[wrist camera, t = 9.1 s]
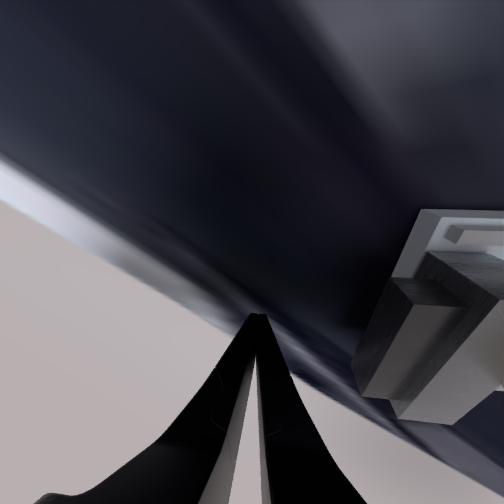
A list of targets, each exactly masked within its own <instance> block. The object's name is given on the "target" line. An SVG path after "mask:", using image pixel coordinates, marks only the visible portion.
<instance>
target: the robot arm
mask: <svg viewBox="0 0 504 504" xmlns="http://www.w3.org/2000/svg"><path fill="white" fill-rule="evenodd" d="M255 358H256V371H257V372H256V374H257V395H258V396H257V397H258V420H259V444H260V466H261V490H262V504H367V503H366V502H365V501H364V499H363V498H362V497H361V495H360V494H359V493H358V492H357V490H356V489H355V488H354V487H353V485H352V484H351V483H350V481H349V480H348V479H347V478H346V477H345V475H344V474H343V473H342V471H341V470H340V469H339V467H338V466H337V464H336V463H335V461H334V459H333V458H332V456H331V454H330V453H329V451H328V449H327V447H326V446H325V444H324V442H323V440H322V438H321V436H320V434H319V432H318V431H317V429H316V427H315V425H314V423H313V421H312V419H311V417H310V416H309V414H308V412H307V410H306V408H305V406H304V404H303V402H302V400H301V398H300V396H299V394H298V391H297V389H296V387H295V384H294V382H293V379H292V377H291V376H290V372H289V370H288V367H287V365H286V362H285V360H284V357H283V355H282V352H281V350H280V348H279V345H278V343H277V340H276V338H275V335H274V333H273V330H272V328H271V325H270V323H269V320H268V318H267V315H266V314H257V313H250V314H249V316H248V317H247V319H246V321H245V322H244V324H243V325H242V327H241V328H240V330H239V331H238V333H237V334H236V336H235V337H234V339H233V340H232V342H231V343H230V345H229V346H228V348H227V349H226V351H225V353H224V354H223V356H222V357H221V359H220V360H219V362H218V363H217V365H216V366H215V368H214V369H213V371H212V372H211V374H210V375H209V377H208V378H207V380H206V381H205V382H204V384H203V385H202V387H201V388H200V389H199V390H198V392H197V393H196V394H195V396H194V397H193V398H192V399H191V401H190V402H189V403H188V404H187V405H186V407H185V408H184V409H183V410H182V412H181V413H180V414H179V415H178V417H177V418H176V419H175V420H174V421H173V423H172V424H171V425H170V426H169V427H168V429H167V430H166V431H165V432H164V433H163V434H162V435H161V436H160V437H159V438H158V439H157V440H156V441H155V442H154V443H152V444H151V445H150V446H149V447H147V448H146V449H145V450H143V451H142V452H141V453H139V454H138V455H137V456H135V457H134V458H133V459H132V460H130V461H129V462H127V463H126V464H125V465H124V466H122V467H121V468H120V469H118V470H117V471H116V472H114V473H113V474H112V475H110V476H109V477H108V478H106V479H105V480H104V481H102V482H101V483H100V484H98V485H97V486H95V487H94V488H92V489H90V490H88V491H86V492H85V493H82V494H79V495H74V496H69V495H64V494H57V493H47V494H45V495H43V496H42V497H41V498H40V499H39V500H37V501H36V502H35V503H34V504H228V502H229V497H230V492H231V486H232V481H233V474H234V470H235V465H236V459H237V454H238V449H239V443H240V438H241V433H242V428H243V422H244V417H245V412H246V406H247V401H248V396H249V390H250V385H251V380H252V374H253V369H254V363H255Z"/></svg>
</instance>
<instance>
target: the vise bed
mask: <svg viewBox="0 0 504 504" xmlns="http://www.w3.org/2000/svg"><path fill="white" fill-rule="evenodd" d="M427 251H430V252H454V253H477V254H492V255H494V256H496V257H498V258H500V259H502V260H504V211H489V210H447V209H421V210H420V213H419V215H418V217H417V219H416V222H415V224H414V226H413V228H412V231H411V233H410V235H409V237H408V240H407V242H406V244H405V246H404V249H403V251H402V253H401V255H400V258H399V260H398V262H397V264H396V267H395V269H394V271H393V273H392V276H391V277H401V278H414V276H415V274H416V272H417V270H418V268H419V267H420V265H421V263H422V261H423V259H424V257H425V255H426V253H427ZM495 390H498V391H504V388H503V387H502V386H501V385H500V386H499V387H498V388H497V389H495Z"/></svg>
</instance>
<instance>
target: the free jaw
mask: <svg viewBox="0 0 504 504" xmlns="http://www.w3.org/2000/svg"><path fill="white" fill-rule="evenodd" d="M351 368H352V370H353V373H354V376H355V379H356V382H357V384H358V387H359V390H360V393H361V395H362V396H364V397H373V398H382V399H389V400H390V402H391V404H392V406H393V408H394V410H395V413H396V415H397V417H398V419H406V420H415V421H424V422H432V423H441V424H449V425H453V424H454V423H455V422H456V421H457V420H459V419H460V418H461V417H462V416H464V415H465V414H466V413H467V412H468V411H470V410H471V409H472V408H473V407H475V406H476V405H477V404H478V403H479V402H481V401H482V400H483V399H484V398H486V397H487V396H488V395H489V394H491V393H492V392H493V391H494V390H495V389H497V388H498V387H499V386H500V385H502V384H503V383H504V260H502V259H500V258H498V257H496V256H494V255H492V254H477V253H454V252H430V251H427V253H426V255H425V257H424V259H423V261H422V263H421V265H420V267H419V268H418V270H417V272H416V274H415V276H414V278H401V277H389V278H388V280H387V283H386V285H385V287H384V290H383V292H382V294H381V296H380V299H379V301H378V303H377V306H376V308H375V310H374V312H373V315H372V317H371V319H370V322H369V324H368V326H367V328H366V331H365V333H364V335H363V337H362V340H361V342H360V344H359V347H358V349H357V351H356V353H355V356H354V358H353V360H352V363H351Z"/></svg>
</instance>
